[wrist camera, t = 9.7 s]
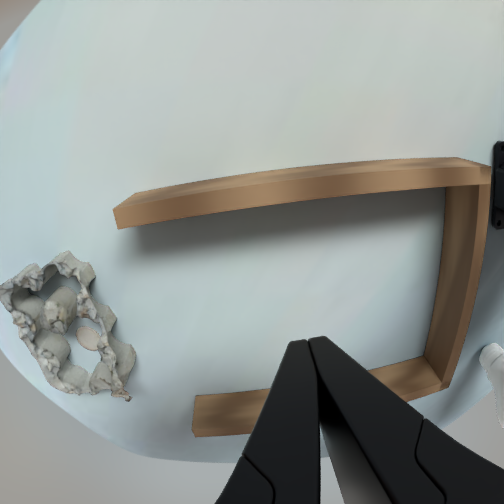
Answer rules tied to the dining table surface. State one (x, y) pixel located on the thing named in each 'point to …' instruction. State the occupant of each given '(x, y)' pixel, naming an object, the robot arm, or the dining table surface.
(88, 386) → the egg carton
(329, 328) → the dining table surface
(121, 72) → the dining table surface
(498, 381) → the lightbulb
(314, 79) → the dining table surface
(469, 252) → the open wooden frame
